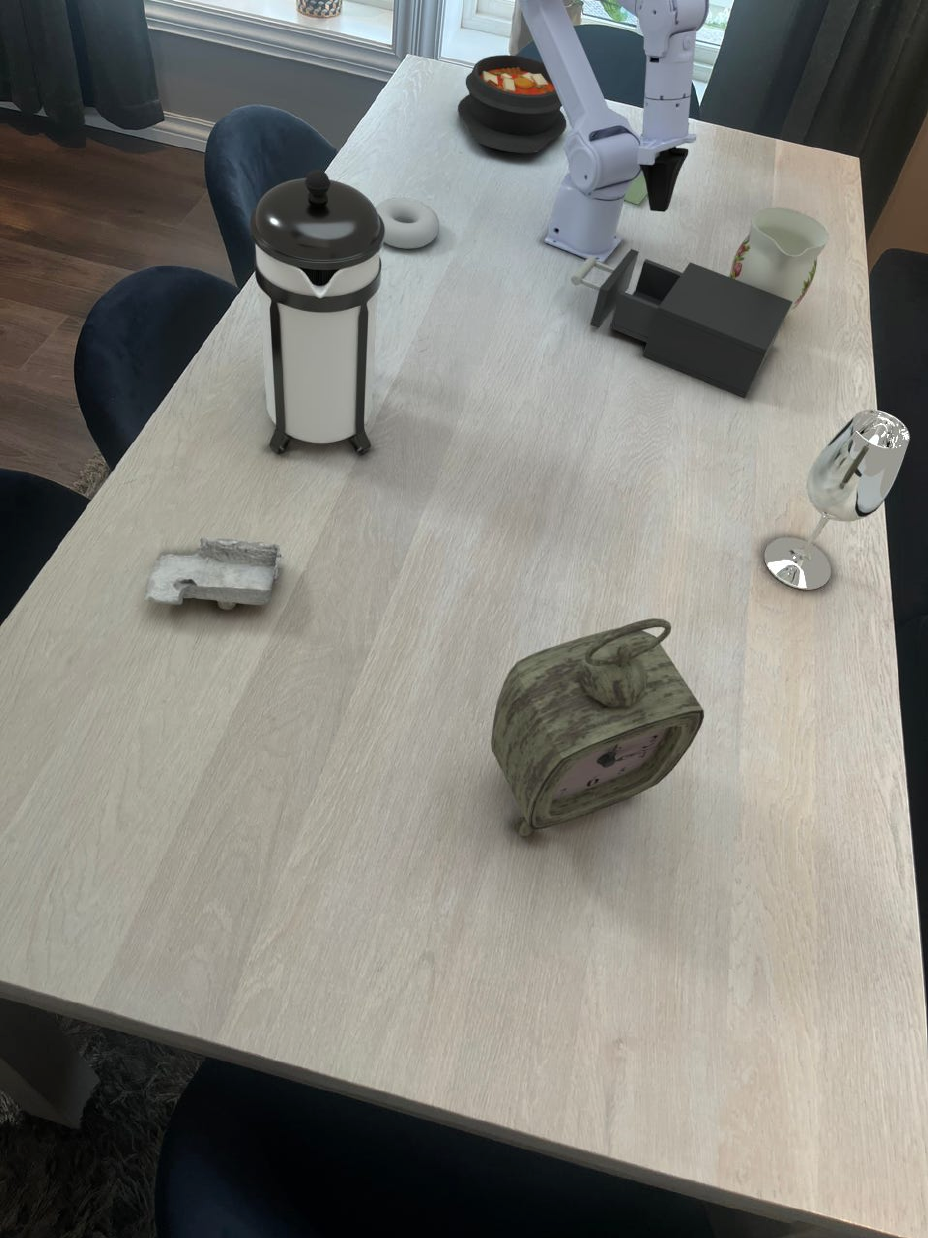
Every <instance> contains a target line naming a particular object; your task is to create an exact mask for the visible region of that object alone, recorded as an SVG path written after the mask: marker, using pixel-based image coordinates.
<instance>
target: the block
mask: <svg viewBox="0 0 928 1238" xmlns="http://www.w3.org/2000/svg"><path fill="white" fill-rule="evenodd" d="M646 196H648V193H647V187H646V182H645V178H644V175H643V172H642V174H641V175H640V176H639V177H638V178H637V179H635V180H632V184H631V188H630V189H628V190H627V191H626V194H625V198H624V201H626V202H629V203H631V204H634V205H637V206H638V205H640V204H641V202H642V201H643V200H644V198H645V197H646Z"/></svg>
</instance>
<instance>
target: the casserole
mask: <svg viewBox="0 0 928 1238" xmlns="http://www.w3.org/2000/svg"><path fill="white" fill-rule="evenodd" d="M465 86H466V89H467V91H468V94H466V95H465V96H464V97H463V98H462V99H461V100H459V103H458V104H457V113H458V116H459V117H460V119H461V121H462V122H463V123H464V125H466V127H467V130H468V132H469V135H470V137H471V139H473V140H474V141H475V142H477V143H479V144H481V145H483V146H485V147H488V148H491V149H494V150H498V151H502V152H508V153H509V152H510V153H514V154H515V153H516V154H518V153H519V154H532V153H537V152H540V151H542V150H543V149H544V148H545V147H546V146H547V145H548V144H549V143H550V142H551V141H553V140H555V139H557V138H558V137H560V136H561V135H563V133H564V132H565V131H566V129H567V126H568V125H567V118H566V117H565V115H564V113H563V112H562V111H561V110H560V109H561V108H563V106H562V104H561V102H560V99H559V97H558V95H557V92H556V90H555V88H554V86H553V83H552V81H551V79H550V76H549V74H548V72H547V69H546V67H545V65H544V63H543V61H542V62H541V61H539V60H536V59H533V58H529V57H525V56H519V55H507V54H503V55H502V54H500V55H491V56H488V57H484V58H481V59H480V60H478V61H477V62H476V63H474V66H473V68H472V70H471V72H470V73H469V74H468V75H466V78H465Z"/></svg>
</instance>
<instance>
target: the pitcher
mask: <svg viewBox="0 0 928 1238" xmlns="http://www.w3.org/2000/svg"><path fill="white" fill-rule="evenodd" d="M750 223H751V224H750V229H749V233H748V235H747V236H746V237H745V239H744V240H743V241H742V242H741V244H740V246H739V247H738V249H737V251H736V252H735V255H734V257H733V259H732V263H731V266H730V271H729V276H728V277H730V278H733V279H735V280H738V281H740V282H743V283H746V284H748V285H751V286H753V287H756V288H758V289H761V290H764V291H766V292H769V293H771V294H774V295H777V296H779V297H782V298H784V299H787V300H790V301H792V302H793V303H792V305H791V307H790V309H789V311H788V313H787V316H789V315H790V314H791V313H792V312H793V311H794V310H795V309H796V308H797V307H798V305H799V304H800V303H801V302H802V300H803V299H804V297H805V296H806V294H807V293H808V291H809V289H810V288H811V285H812V282H813V280H814V277H815V275H816V270H817V265H818V258H819V256H820V254H821V253H822V251H823V250H824V248H825V247H826V246H827V244H828V242H829V241H830V234H829V232H828V230H827V229H826V227H825V226H824V225H823V223H821V222H820V221H819V220H817V219H816V218H814V217H813V216H811V215H808V214H807V213H805V212H802V211H799V210H796V209H792V208H788V207H783V206H782V207H781V206H767V207H763V208H761V209H758V210H757V211H756V212H754V213H753V215H752V218H751V222H750Z"/></svg>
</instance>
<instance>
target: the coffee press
mask: <svg viewBox="0 0 928 1238" xmlns="http://www.w3.org/2000/svg"><path fill="white" fill-rule="evenodd" d="M375 207H376V206H375V205H374V203H372V201H371V200H370V199H369V198H368V197H367V196H366V195H365V194H364V193H363V192H362V191H360V190H358V189H357V188H355V187H353V186H351V185H349V184H346V183H344V182H340V181H338V180H334V179H330V178H329V176H328V175H327V173H326V172H325V171H323V170H321V169H313V170H311V171H310V172H308V174H307V176H306V177H300V178H295V179H290V180H287V181H284V182H281V183H279V184H277V185H275V186H274V187H272V188H270V189H269V190H268V191H266V192H265V193H264V194H263V196H262V197H261V198H260V199H259V201H258V204H257V205H256V206H255V208H254V209H253V211H252V213H251V215H250V218H249V229H250V235H251V238H252V240H253V242H254V243H255V251H254V254H253V263H254V276H255V281H256V283H257V287H258V302H259V315H260V328H261V329H260V330H261V332H260V333H261V346H262V361H263V374H264V375H263V377H264V389H265V390H264V391H265V401H266V402H265V403H266V409H267V413H268V415H269V418H270V419H271V421H272V422H273V424H274V425H275V426H274V427H275V428H274V431H273V434H272V436H271V439H270V440H269V443H268V444H269V445H268V446H269V448H271V449H272V450H273V451H274V452H276V453H278V454H283V453H284V452H285V451H286V450H287V448H288V447H289V445H290V443H291V441H292V440H293V439H296V440H299V441H303V442H307V443H313V444H330V443H337V442H339V441H343V440H346V439H347V440H348V441H349V443H350V444H351V446H352V447H353V449H354V451H355V452H356V453H357V454H358V455H364V453H366V452H367V451H369V450H370V449H371V448H372V443H371V441H370V439H369V436H368V434H367V432H366V428H365V426H366V424H367V423H368V421H369V419H370V417H371V414H372V407H373V395H374V394H373V393H374V376H375V358H376V357H375V355H376V335H377V315H378V297H379V294H378V293H379V288H380V286H381V280H382V258H381V255H380V254H381V249H382V247H383V245H384V244H385V242H384V237H385V227H384V223H383V221H382V219H381V217H380V216H379V214H378V213H377V211H376V209H375Z"/></svg>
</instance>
